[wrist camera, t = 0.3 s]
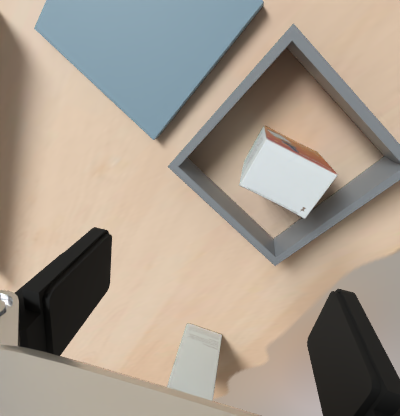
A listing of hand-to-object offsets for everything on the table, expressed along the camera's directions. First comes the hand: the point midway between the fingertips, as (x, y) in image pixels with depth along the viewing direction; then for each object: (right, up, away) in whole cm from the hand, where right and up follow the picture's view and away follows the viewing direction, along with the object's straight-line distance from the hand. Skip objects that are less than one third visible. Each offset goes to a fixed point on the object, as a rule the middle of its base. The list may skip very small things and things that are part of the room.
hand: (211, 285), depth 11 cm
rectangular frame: (+10, +10, +25) cm, 29 cm away
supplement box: (0, -23, +42) cm, 48 cm away
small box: (+10, +10, +25) cm, 29 cm away
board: (-7, +26, +21) cm, 34 cm away
